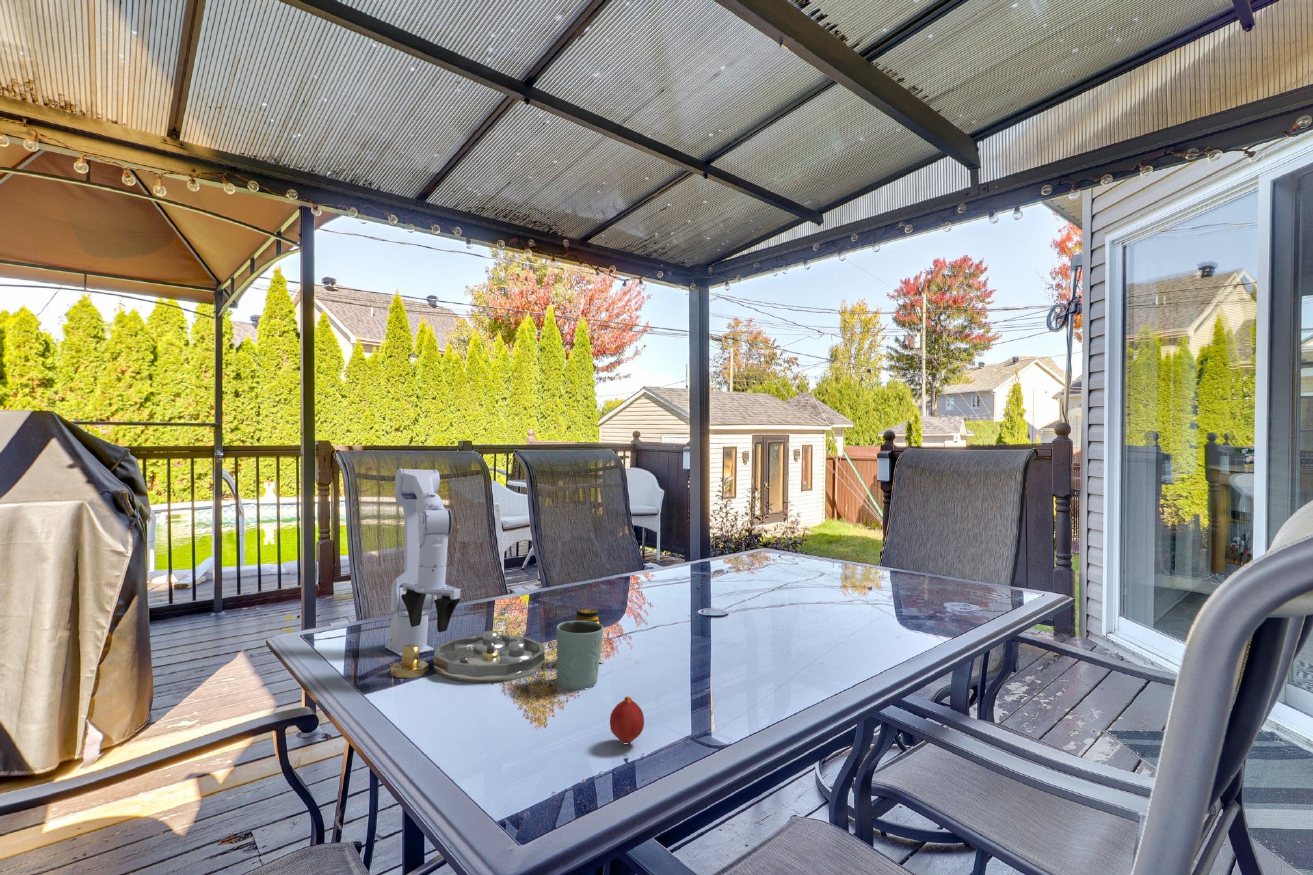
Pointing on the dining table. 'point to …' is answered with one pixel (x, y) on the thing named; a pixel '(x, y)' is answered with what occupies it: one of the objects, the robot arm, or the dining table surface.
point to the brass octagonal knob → (409, 663)
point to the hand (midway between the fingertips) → (428, 628)
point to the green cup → (578, 654)
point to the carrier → (488, 658)
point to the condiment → (587, 615)
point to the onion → (627, 720)
